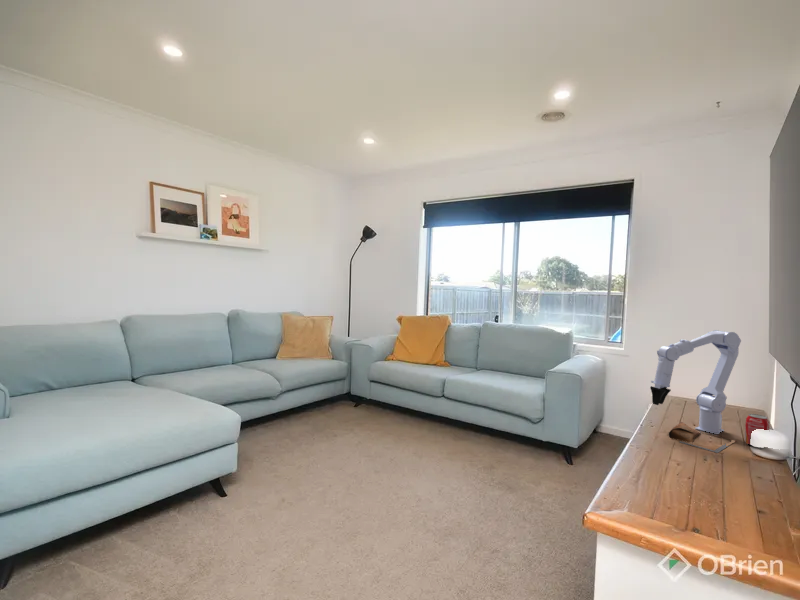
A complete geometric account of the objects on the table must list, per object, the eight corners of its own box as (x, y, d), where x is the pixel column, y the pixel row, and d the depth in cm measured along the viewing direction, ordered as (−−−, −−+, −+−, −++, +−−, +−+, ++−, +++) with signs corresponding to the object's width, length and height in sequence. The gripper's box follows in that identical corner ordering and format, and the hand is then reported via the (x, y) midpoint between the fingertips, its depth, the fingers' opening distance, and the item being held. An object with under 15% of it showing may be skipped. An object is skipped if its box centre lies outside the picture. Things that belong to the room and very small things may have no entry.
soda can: (758, 443, 162) (760, 413, 162) (773, 450, 155) (775, 419, 155) (739, 442, 163) (741, 412, 162) (753, 448, 156) (755, 417, 155)
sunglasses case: (693, 443, 158) (684, 426, 161) (674, 447, 163) (665, 431, 165) (701, 433, 171) (692, 418, 174) (683, 437, 176) (675, 422, 178)
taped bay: (700, 431, 174) (700, 431, 174) (736, 441, 164) (736, 440, 164) (678, 442, 159) (678, 441, 159) (717, 453, 149) (717, 452, 149)
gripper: (657, 371, 183) (651, 400, 183) (649, 370, 173) (642, 401, 173) (675, 375, 178) (669, 405, 178) (668, 375, 168) (661, 407, 168)
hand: (657, 403), depth 175 cm, fingers open, 7 cm apart
